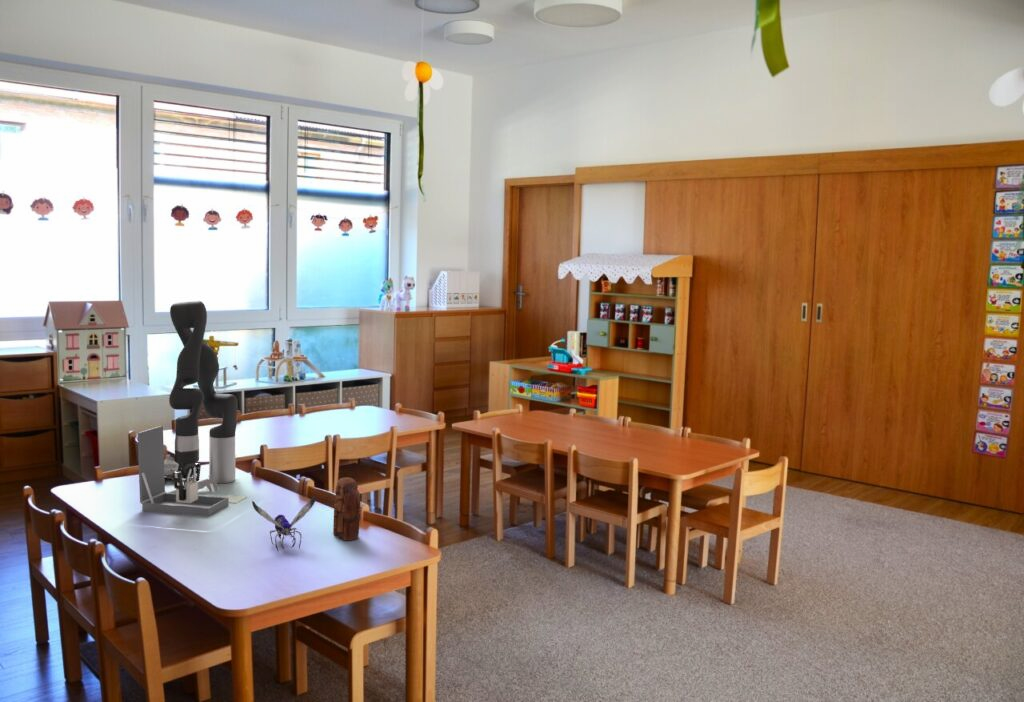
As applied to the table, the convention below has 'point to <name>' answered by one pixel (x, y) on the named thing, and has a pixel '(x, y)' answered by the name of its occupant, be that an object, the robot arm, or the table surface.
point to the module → (189, 492)
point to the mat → (234, 498)
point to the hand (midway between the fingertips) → (187, 497)
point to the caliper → (205, 484)
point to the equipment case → (154, 481)
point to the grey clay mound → (170, 467)
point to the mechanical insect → (285, 521)
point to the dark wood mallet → (346, 509)
